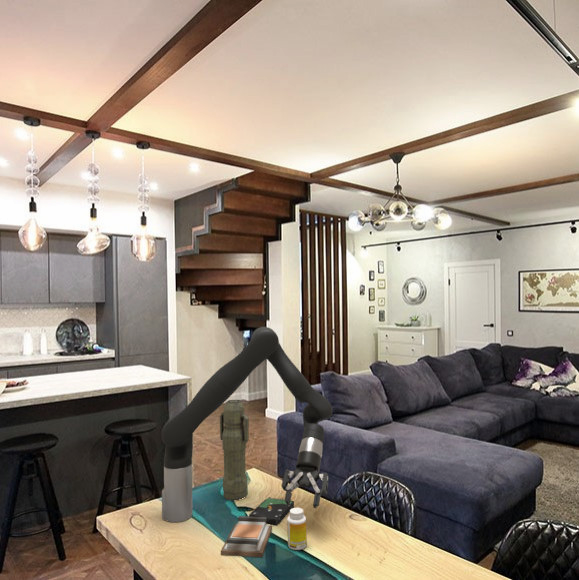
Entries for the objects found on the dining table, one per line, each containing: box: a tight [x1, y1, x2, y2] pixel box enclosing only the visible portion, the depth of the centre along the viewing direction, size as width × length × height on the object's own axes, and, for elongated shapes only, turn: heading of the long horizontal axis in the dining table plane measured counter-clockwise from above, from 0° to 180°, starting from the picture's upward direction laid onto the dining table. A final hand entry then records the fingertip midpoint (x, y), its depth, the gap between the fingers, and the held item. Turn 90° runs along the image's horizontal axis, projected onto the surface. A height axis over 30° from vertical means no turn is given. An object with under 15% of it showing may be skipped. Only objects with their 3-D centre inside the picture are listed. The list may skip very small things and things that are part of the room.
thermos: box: [219, 399, 250, 502], centre depth 172 cm, size 9×12×35 cm
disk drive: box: [248, 497, 295, 527], centre depth 156 cm, size 10×3×15 cm
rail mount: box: [220, 515, 273, 558], centre depth 138 cm, size 12×16×4 cm
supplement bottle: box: [286, 507, 308, 551], centre depth 135 cm, size 6×6×10 cm
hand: (301, 505), depth 140 cm, fingers open, 8 cm apart
